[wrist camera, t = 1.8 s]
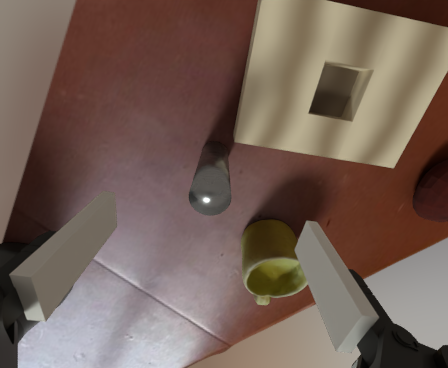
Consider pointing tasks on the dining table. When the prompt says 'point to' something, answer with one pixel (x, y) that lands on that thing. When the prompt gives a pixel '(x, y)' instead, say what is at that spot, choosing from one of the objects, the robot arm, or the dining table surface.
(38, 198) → the dining table surface
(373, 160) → the block
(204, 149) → the pin
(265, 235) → the mug
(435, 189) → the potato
